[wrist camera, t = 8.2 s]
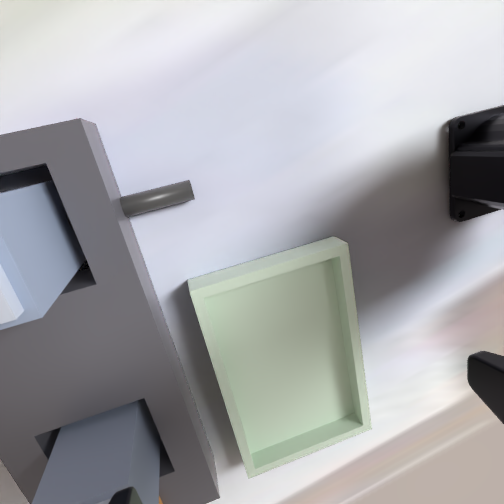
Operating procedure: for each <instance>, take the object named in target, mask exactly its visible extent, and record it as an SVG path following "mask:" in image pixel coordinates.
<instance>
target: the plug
mask: <svg viewBox="0 0 504 504" xmlns="http://www.w3.org/2000/svg"><path fill="white" fill-rule="evenodd" d="M159 472H160V434H159V432H158V430H157V427H156V425H155V422H154V420H153V418H152V415H151V413H150V410H149V408H148V406H147V403H146V401H145V399H144V398H143V399H140V400H137V401H134V402H131V403H129V404H126V405H123V406H120V407H117V408H114V409H111V410H108V411H105V412H103V413H100V414H97V415H94V416H91V417H88V418H85V419H82V420H80V421H77V422H74V423H71V424H68V425H65V426H62V427H61V429H60V432H59V434H58V437H57V439H56V442H55V445H54V447H53V450H52V452H51V455H50V458H49V460H48V463H47V465H46V468H45V471H44V473H43V476H42V478H41V481H40V484H39V486H38V489H37V491H36V494H35V497H34V499H33V502H32V504H108V503H109V502H110V500H111V498H112V496H113V495H114V494H115V493H116V492H117V491H120V490H122V489H125V488H127V487H130V486H133V487H134V488H135V489H136V491H137V493H138V495H139V497H140V499H141V501H142V503H143V504H159Z"/></svg>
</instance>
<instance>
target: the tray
mask: <svg viewBox="0 0 504 504" xmlns="http://www.w3.org/2000/svg"><path fill="white" fill-rule="evenodd" d="M188 286H189V292H190V295H191V298H192V302H193V305H194V308H195V311H196V314H197V317H198V321H199V324H200V327H201V330H202V333H203V336H204V340H205V343H206V346H207V349H208V352H209V355H210V359H211V362H212V365H213V368H214V371H215V374H216V378H217V381H218V384H219V387H220V390H221V393H222V396H223V400H224V403H225V406H226V409H227V412H228V415H229V419H230V422H231V425H232V428H233V431H234V434H235V438H236V441H237V444H238V447H239V450H240V453H241V457H242V460H243V463H244V466H245V469H246V472H247V476H248V479H249V478H252V477H254V476H257V475H259V474H262V473H264V472H267V471H269V470H272V469H274V468H277V467H279V466H281V465H284V464H286V463H289V462H291V461H294V460H296V459H299V458H301V457H304V456H306V455H309V454H311V453H314V452H316V451H318V450H321V449H323V448H326V447H328V446H331V445H333V444H336V443H338V442H341V441H343V440H346V439H348V438H351V437H353V436H356V435H358V434H360V433H363V432H365V431H368V430H370V429H372V427H371V419H370V411H369V403H368V396H367V388H366V380H365V372H364V364H363V356H362V349H361V341H360V333H359V325H358V317H357V310H356V302H355V294H354V286H353V278H352V270H351V263H350V255H349V247H348V243H347V242H345V241H343V240H341V239H339V238H337V237H335V236H333V237H329V238H326V239H323V240H319V241H316V242H313V243H309V244H306V245H303V246H299V247H296V248H292V249H289V250H286V251H282V252H279V253H276V254H272V255H269V256H266V257H262V258H259V259H256V260H252V261H249V262H246V263H242V264H239V265H235V266H232V267H229V268H225V269H222V270H219V271H215V272H212V273H209V274H205V275H202V276H199V277H195V278H192V279H188Z"/></svg>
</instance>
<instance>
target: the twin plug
mask: <svg viewBox="0 0 504 504" xmlns="http://www.w3.org/2000/svg"><path fill="white" fill-rule="evenodd" d="M194 199H195V198H194V194H193V191H192V187H191V184H190V181H189V180H187V181H183V182H179V183H175V184H171V185H167V186H163V187H159V188H155V189H151V190H147V191H143V192H140V193H136V194H132V195H128V196H124V197H120V204H121V208H122V210H123V213H124V215H125V216H126V217H128V216H132V215H136V214H140V213H144V212H148V211H151V210H155V209H159V208H163V207H167V206H171V205H174V204H178V203H182V202H186V201H190V200H194ZM85 260H86V257H85V255H84V253H83V250H82V248H81V246H80V243H79V241H78V238H77V236H76V234H75V231H74V229H73V226H72V224H71V222H70V219H69V217H68V214H67V212H66V210H65V207H64V205H63V203H62V200H61V198H60V195H59V193H58V191H57V188H56V186H55V183H54V181H53V180H51V181H47V182H42V183H38V184H34V185H30V186H25V187H21V188H17V189H13V190H8V191H4V192H0V330H2V329H5V328H9V327H12V326H15V325H19V324H22V323H26V322H29V321H32V320H36V319H39V318H42V317H43V316H44V315H45V314H46V312H47V311H48V310H49V308H50V307H51V306H52V304H53V303H54V302H55V300H56V299H57V298H58V296H59V295H60V294H61V292H62V291H63V290H64V288H65V287H66V286H67V284H68V283H69V282H70V280H71V279H72V278H73V276H74V275H75V273H76V272H77V271H78V269H79V268H80V267H81V265H82V264H83V263H84V261H85Z"/></svg>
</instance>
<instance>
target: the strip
mask: <svg viewBox="0 0 504 504" xmlns="http://www.w3.org/2000/svg"><path fill="white" fill-rule="evenodd" d="M46 165H47V167H48V169H49V171H50V174H51V176H52V179H53V181H54V183H55V186H56V188H57V191H58V193H59V195H60V198H61V200H62V203H63V205H64V207H65V210H66V212H67V214H68V217H69V219H70V222H71V224H72V226H73V229H74V231H75V234H76V236H77V238H78V241H79V243H80V246H81V248H82V250H83V253H84V255H85V257H86V260H87V262H88V265H89V267H90V268H89V269H85V270H82V271H78V272H76V273H75V275H74V276H73V278H72V279H71V280H70V282H69V283H68V284H67V286H66V287H65V288H64V290H63V291H62V292H61V294H60V295H59V296H58V298H57V299H56V300H55V302H54V303H53V304H52V306H51V307H50V308H49V310H48V311H47V312H46V314H45V315H44V316H43V317H42V318H39V319H36V320H32V321H29V322H26V323H22V324H19V325H15V326H12V327H9V328H5V329H2V330H0V459H1V460H2V462H3V463H4V465H5V466H6V468H7V470H8V471H9V473H10V474H11V476H12V477H13V479H14V480H15V482H16V483H17V485H18V486H19V488H20V489H21V491H22V492H23V494H24V495H25V497H26V498H27V500H28V501H29V503H30V504H32V502H33V499H34V497H35V494H36V491H37V489H38V486H39V484H40V481H41V478H42V476H43V473H44V471H45V468H46V465H47V463H48V460H49V458H50V455H51V452H52V450H53V447H54V445H55V442H56V439H57V437H58V434H59V432H60V429H61V427H62V426H65V425H68V424H71V423H74V422H77V421H80V420H82V419H85V418H88V417H91V416H94V415H97V414H100V413H103V412H105V411H108V410H111V409H114V408H117V407H120V406H123V405H126V404H129V403H131V402H134V401H137V400H140V399H143V398H144V399H145V401H146V403H147V406H148V408H149V410H150V413H151V415H152V418H153V420H154V422H155V425H156V427H157V430H158V432H159V434H160V472H159V504H206V503H209V502H211V501H213V500H216V499H218V498H220V496H219V489H218V482H217V476H216V469H215V463H214V456H213V453H212V450H211V448H210V445H209V442H208V439H207V436H206V433H205V431H204V428H203V425H202V422H201V419H200V417H199V414H198V411H197V408H196V405H195V402H194V400H193V397H192V394H191V391H190V388H189V386H188V383H187V380H186V377H185V374H184V372H183V369H182V366H181V363H180V360H179V357H178V355H177V352H176V349H175V346H174V343H173V341H172V338H171V335H170V332H169V329H168V326H167V324H166V321H165V318H164V315H163V312H162V310H161V307H160V304H159V301H158V298H157V295H156V293H155V290H154V287H153V284H152V281H151V279H150V276H149V273H148V270H147V267H146V265H145V262H144V259H143V256H142V253H141V250H140V248H139V245H138V242H137V239H136V236H135V234H134V231H133V228H132V225H131V222H130V219H129V217H126V216H125V215H124V213H123V210H122V208H121V204H120V197H121V194H120V191H119V189H118V186H117V183H116V180H115V177H114V174H113V172H112V169H111V166H110V163H109V160H108V158H107V155H106V152H105V149H104V146H103V143H102V141H101V138H100V135H99V132H98V129H97V127H96V124H94V123H92V122H89V121H86V120H83V119H81V118H79V119H74V120H70V121H65V122H60V123H55V124H51V125H46V126H41V127H36V128H31V129H27V130H22V131H17V132H12V133H8V134H3V135H0V176H2V175H7V174H11V173H15V172H20V171H24V170H29V169H33V168H37V167H42V166H46Z"/></svg>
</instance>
